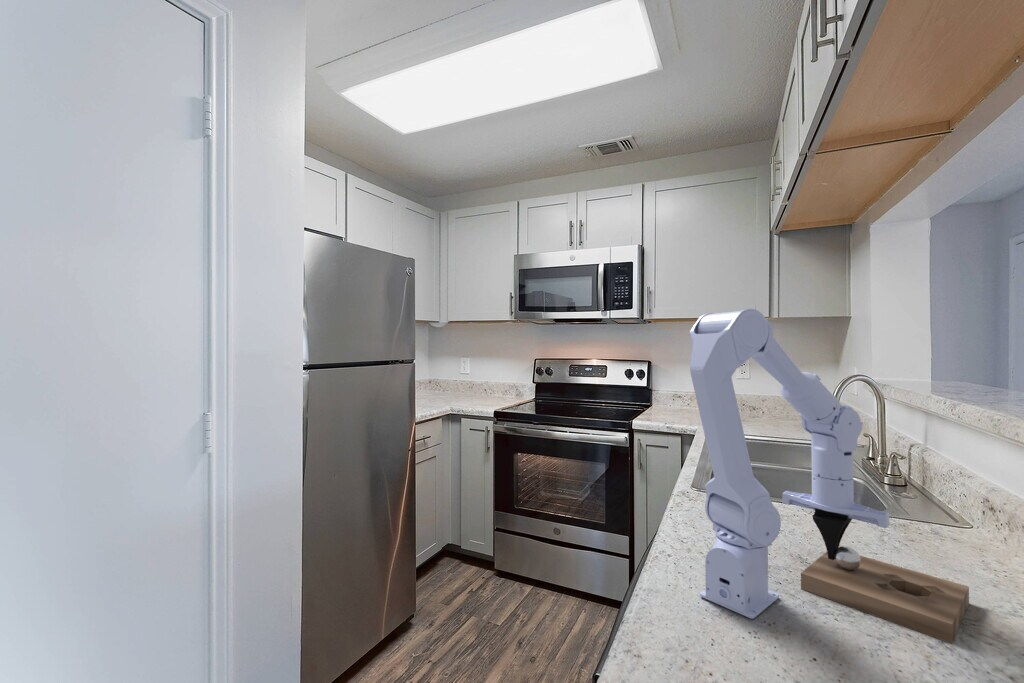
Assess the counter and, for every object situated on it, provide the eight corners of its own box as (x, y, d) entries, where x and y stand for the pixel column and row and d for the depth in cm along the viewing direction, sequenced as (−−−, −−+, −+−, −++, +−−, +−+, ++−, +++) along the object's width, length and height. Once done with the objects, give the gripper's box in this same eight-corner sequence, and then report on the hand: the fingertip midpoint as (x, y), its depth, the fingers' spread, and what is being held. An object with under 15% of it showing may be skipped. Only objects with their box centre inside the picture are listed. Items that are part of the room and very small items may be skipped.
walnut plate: (952, 643, 59) (952, 624, 59) (800, 588, 73) (800, 573, 73) (969, 603, 69) (968, 586, 69) (832, 561, 82) (832, 547, 82)
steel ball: (855, 577, 72) (858, 555, 72) (829, 565, 75) (832, 545, 74) (861, 570, 74) (865, 550, 74) (836, 560, 77) (839, 540, 76)
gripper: (893, 480, 73) (894, 566, 73) (792, 463, 84) (793, 537, 84) (882, 489, 68) (883, 580, 68) (777, 469, 80) (778, 548, 79)
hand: (833, 557), depth 76 cm, fingers closed, pressing on steel ball
